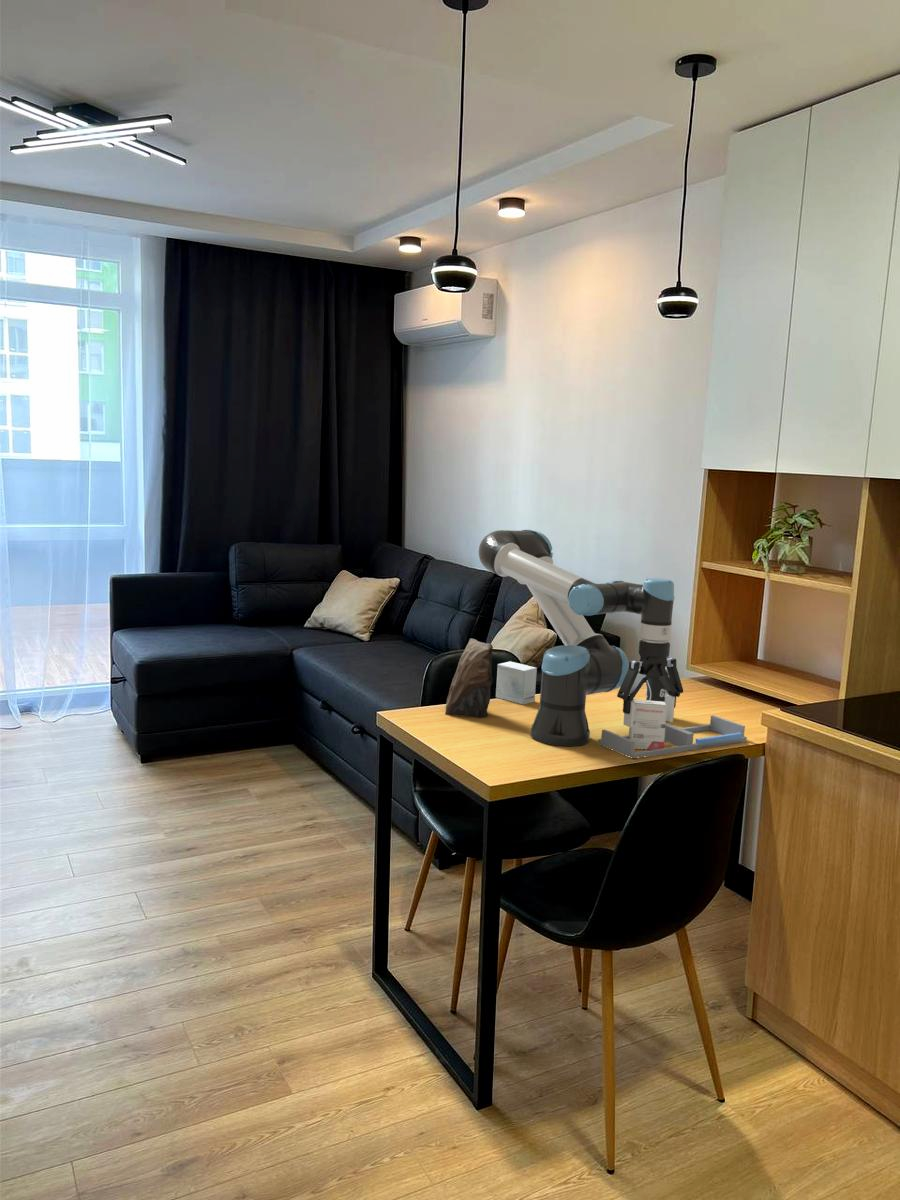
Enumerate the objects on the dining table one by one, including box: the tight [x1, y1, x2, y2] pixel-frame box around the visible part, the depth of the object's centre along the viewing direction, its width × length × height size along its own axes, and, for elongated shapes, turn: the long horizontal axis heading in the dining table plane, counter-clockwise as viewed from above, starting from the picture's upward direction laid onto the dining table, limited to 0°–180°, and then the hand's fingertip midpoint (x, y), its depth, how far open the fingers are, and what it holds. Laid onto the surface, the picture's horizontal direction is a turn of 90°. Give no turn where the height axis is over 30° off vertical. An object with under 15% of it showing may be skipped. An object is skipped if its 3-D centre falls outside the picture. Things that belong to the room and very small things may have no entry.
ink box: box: [628, 698, 667, 751], centre depth 233 cm, size 9×5×12 cm, turn 84°
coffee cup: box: [645, 668, 680, 702], centre depth 262 cm, size 10×10×15 cm
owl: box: [444, 638, 494, 719], centre depth 256 cm, size 13×13×20 cm
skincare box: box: [495, 660, 538, 705], centre depth 274 cm, size 10×6×10 cm, turn 48°
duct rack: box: [597, 714, 748, 759], centre depth 238 cm, size 40×13×4 cm, turn 121°
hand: (648, 723), depth 232 cm, fingers open, 13 cm apart
